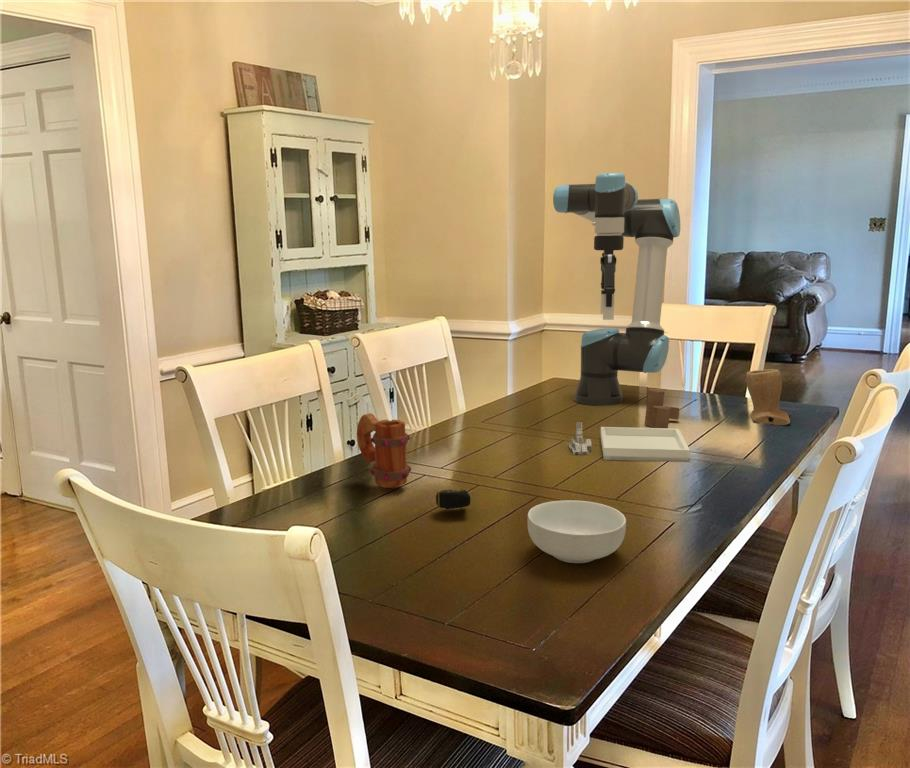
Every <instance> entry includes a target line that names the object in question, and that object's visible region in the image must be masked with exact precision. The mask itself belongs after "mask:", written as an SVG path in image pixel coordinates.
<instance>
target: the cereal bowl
mask: <svg viewBox="0 0 910 768" xmlns="http://www.w3.org/2000/svg"><path fill="white" fill-rule="evenodd" d="M526 521H527V522H526V523H527V530H528V532H527V533H528V534H529V537H530V539H531V541H532V542H533V544H534V545H535V546H536V547H538V548H539V549H540V550H541V551H543V552H544V553H546V554H547V555H551V556H553V558H555V559H557V560H559V561H561V562H565V563H570V564H586V563H591V562H593V561H595V560H599V559H602V558H605V557H608V556H609V555H611V554H612V553H614V552H616V550H618V549H619V547H620V546H621V545H622V544H623V541H624V539H625V536H626V530H627V518H626V517H625V515H624V514H623V513H622V512H621V511H619V510H618V509H616V508H614V507H612V506H609V505H606V504H603V503H600V502H594V501H587V500H574V499H573V500H571V499H570V500H569V499H568V500H564V499H563V500H553V501H548V502H547V501H546V502H542V503H540V504H537V505H534V506H532V507H531V508H530V509H529V510H528V512H527V520H526Z"/></svg>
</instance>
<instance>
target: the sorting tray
mask: <svg viewBox="0 0 910 768" xmlns="http://www.w3.org/2000/svg"><path fill="white" fill-rule="evenodd" d="M600 444H601V451H602V459H603V460H604V461H630V462H631V461H632V462H637V461H639V462H690V457H691V450H690V447H689V446H688V444H687V441H686V440H685V437H684V436H683V434H682V432H681V430H680V429H679V428H670V427H668V428H651V427H627V426H626V427H624V426H623V427H620V426H619V427H618V426H600Z"/></svg>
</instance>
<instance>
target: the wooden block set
mask: <svg viewBox="0 0 910 768" xmlns="http://www.w3.org/2000/svg"><path fill="white" fill-rule="evenodd" d="M665 392H666V391H665V390H664V389H661V388H652V387H651V388H649V389H648V393H647V401H646V409H645V416H644V417H645V418H644V425H645V426H647V427H649V428H669V423H670V420H675V421H676V420H677V421H679V417H680V407H674V406H665V405H664V400H665Z"/></svg>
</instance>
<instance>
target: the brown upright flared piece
mask: <svg viewBox="0 0 910 768" xmlns="http://www.w3.org/2000/svg"><path fill="white" fill-rule="evenodd" d="M745 379H746V381H745V382H746V383H745V384H746V387H747V391H748V393H749V396H750V399H751V402H752V405H753V408H752V409H753V410H752V411H751V412H750V416H751V419H752V421H753V422H755V423H757V424H760V423H762V424H761V425H770V424H774V425H773V426H780V425H783V426H787V425H789V424H790V423H791V419H790V417H789V414H788V413H787V412H786V411H784V410H781V409H780V399H781V394H782V390H783V382H782V374H781V371H780V370H779V369H773V368H772V369H771V368H770V369H769V368H768V369H757V370H750V371H747V372H746V375H745Z"/></svg>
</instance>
